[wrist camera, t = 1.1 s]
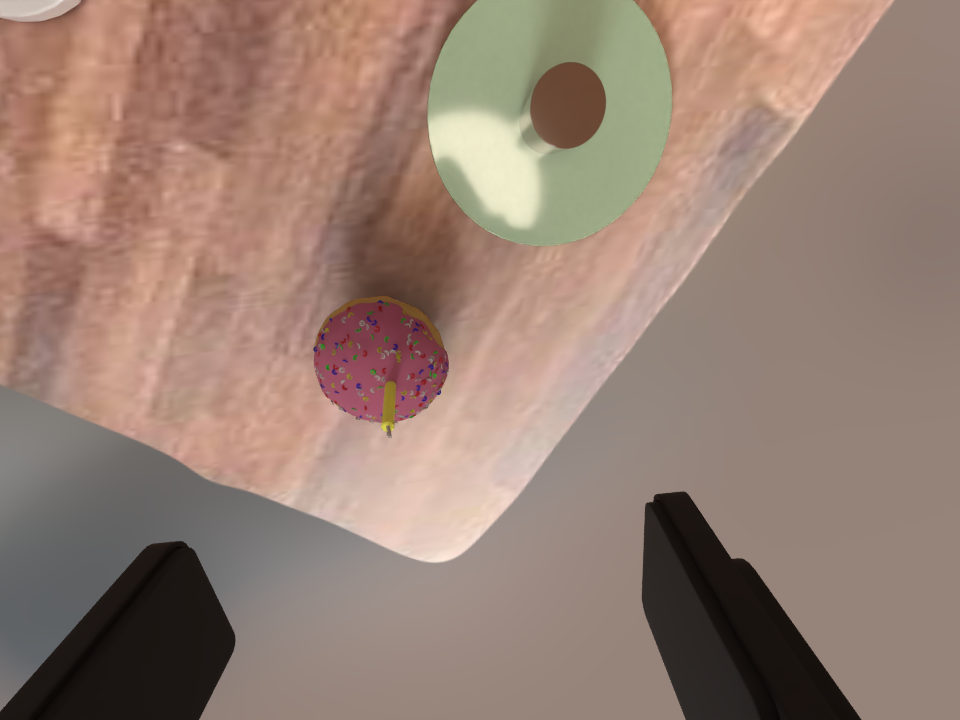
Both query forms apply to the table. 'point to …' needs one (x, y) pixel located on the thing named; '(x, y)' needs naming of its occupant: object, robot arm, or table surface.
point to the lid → (549, 115)
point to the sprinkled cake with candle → (380, 360)
